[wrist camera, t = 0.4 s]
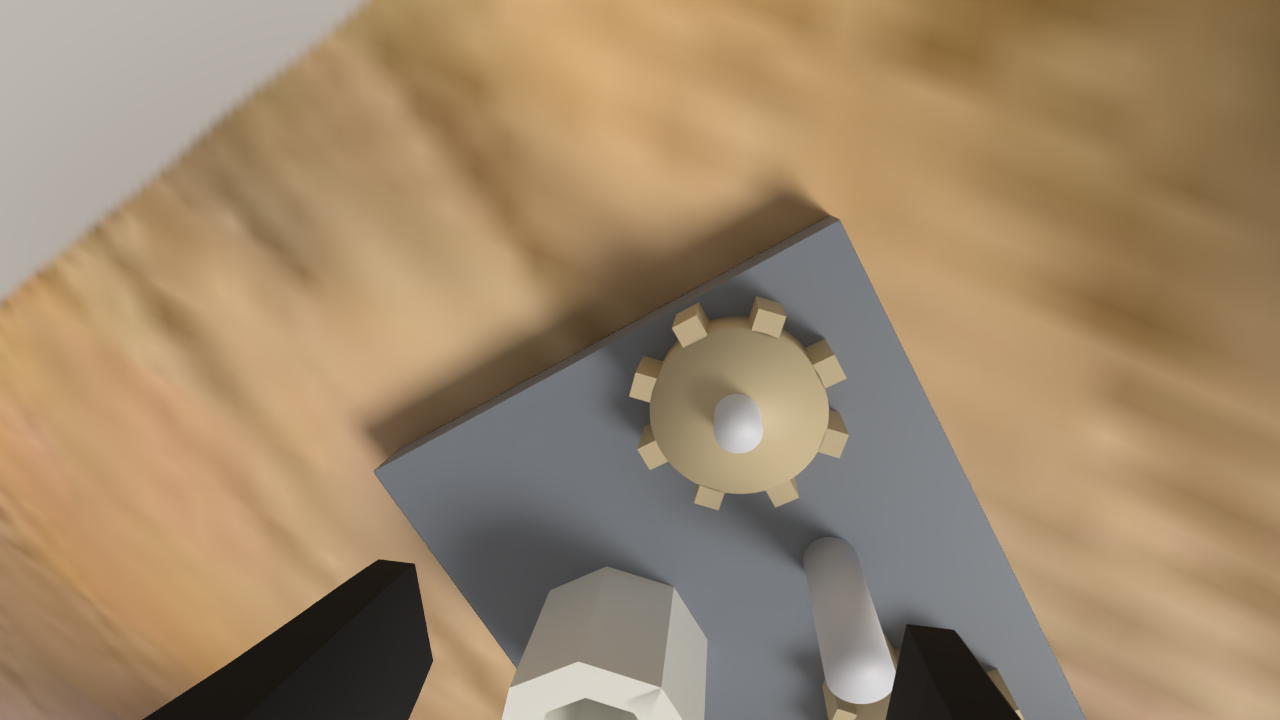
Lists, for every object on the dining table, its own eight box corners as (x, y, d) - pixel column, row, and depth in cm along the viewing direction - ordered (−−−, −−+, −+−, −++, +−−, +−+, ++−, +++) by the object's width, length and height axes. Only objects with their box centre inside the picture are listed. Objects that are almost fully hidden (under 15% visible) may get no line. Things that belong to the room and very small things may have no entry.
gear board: (655, 813, 25) (634, 1005, 19) (396, 451, 21) (276, 555, 16) (1067, 692, 21) (1195, 892, 15) (830, 215, 17) (882, 241, 11)
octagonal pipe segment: (594, 723, 22) (566, 840, 18) (511, 606, 21) (463, 705, 17) (730, 675, 20) (731, 791, 17) (649, 548, 19) (630, 641, 16)
